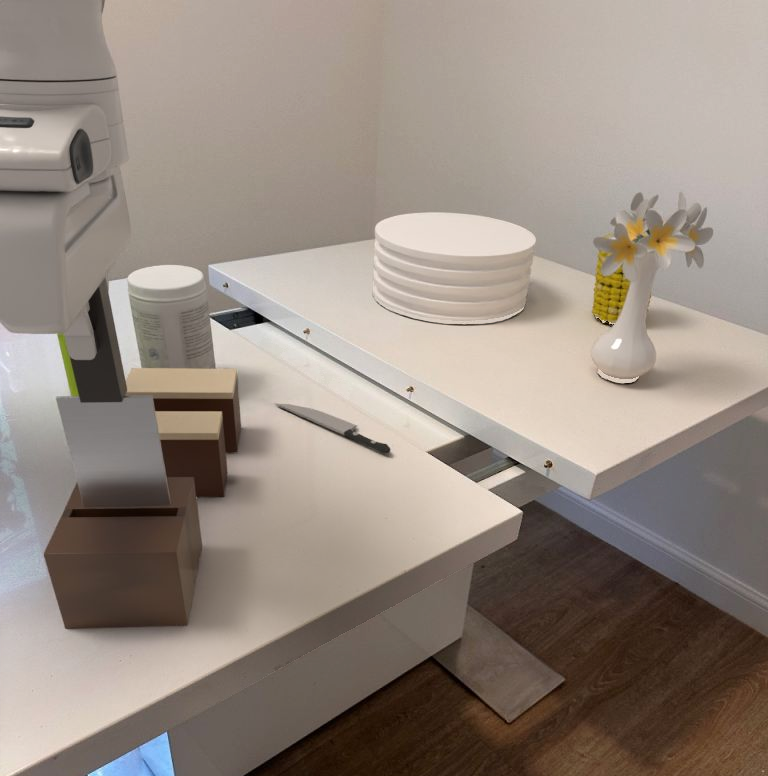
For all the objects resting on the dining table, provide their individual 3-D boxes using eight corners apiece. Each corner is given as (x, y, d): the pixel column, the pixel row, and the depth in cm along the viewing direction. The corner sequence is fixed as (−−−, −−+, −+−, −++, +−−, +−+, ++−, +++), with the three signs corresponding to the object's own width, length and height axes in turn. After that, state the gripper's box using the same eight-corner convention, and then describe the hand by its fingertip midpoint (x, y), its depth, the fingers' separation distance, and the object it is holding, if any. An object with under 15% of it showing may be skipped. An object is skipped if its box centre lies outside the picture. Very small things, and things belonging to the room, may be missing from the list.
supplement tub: (210, 366, 102) (200, 261, 94) (222, 395, 95) (212, 285, 87) (140, 373, 99) (123, 266, 91) (146, 403, 92) (128, 290, 84)
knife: (81, 513, 58) (19, 280, 47) (87, 499, 60) (29, 271, 49) (169, 511, 59) (128, 281, 48) (172, 497, 61) (134, 271, 50)
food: (646, 339, 123) (586, 335, 125) (642, 302, 131) (586, 299, 133) (668, 257, 112) (602, 253, 114) (663, 221, 120) (601, 219, 121)
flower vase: (553, 386, 103) (591, 201, 88) (598, 347, 115) (638, 179, 101) (642, 414, 97) (698, 220, 82) (679, 369, 110) (734, 195, 95)
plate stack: (410, 264, 147) (414, 205, 140) (543, 290, 137) (554, 227, 131) (345, 304, 126) (346, 236, 119) (496, 337, 117) (507, 266, 110)
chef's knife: (289, 399, 96) (273, 405, 94) (289, 391, 95) (273, 397, 93) (402, 449, 86) (386, 457, 84) (403, 440, 86) (387, 448, 83)
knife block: (64, 628, 60) (43, 554, 55) (95, 547, 68) (79, 477, 64) (187, 625, 61) (176, 551, 56) (202, 546, 69) (193, 476, 65)
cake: (131, 453, 82) (120, 391, 78) (141, 427, 87) (131, 367, 83) (237, 453, 84) (232, 392, 79) (241, 427, 89) (236, 368, 84)
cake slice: (107, 498, 75) (93, 432, 71) (116, 474, 79) (104, 410, 74) (224, 497, 76) (217, 432, 72) (227, 473, 80) (222, 411, 75)
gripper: (44, 105, 51) (82, 296, 59) (-80, 158, 35) (-4, 412, 43) (135, 109, 52) (160, 297, 60) (55, 163, 36) (105, 412, 44)
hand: (91, 346), depth 51 cm, fingers closed on knife, 2 cm apart
